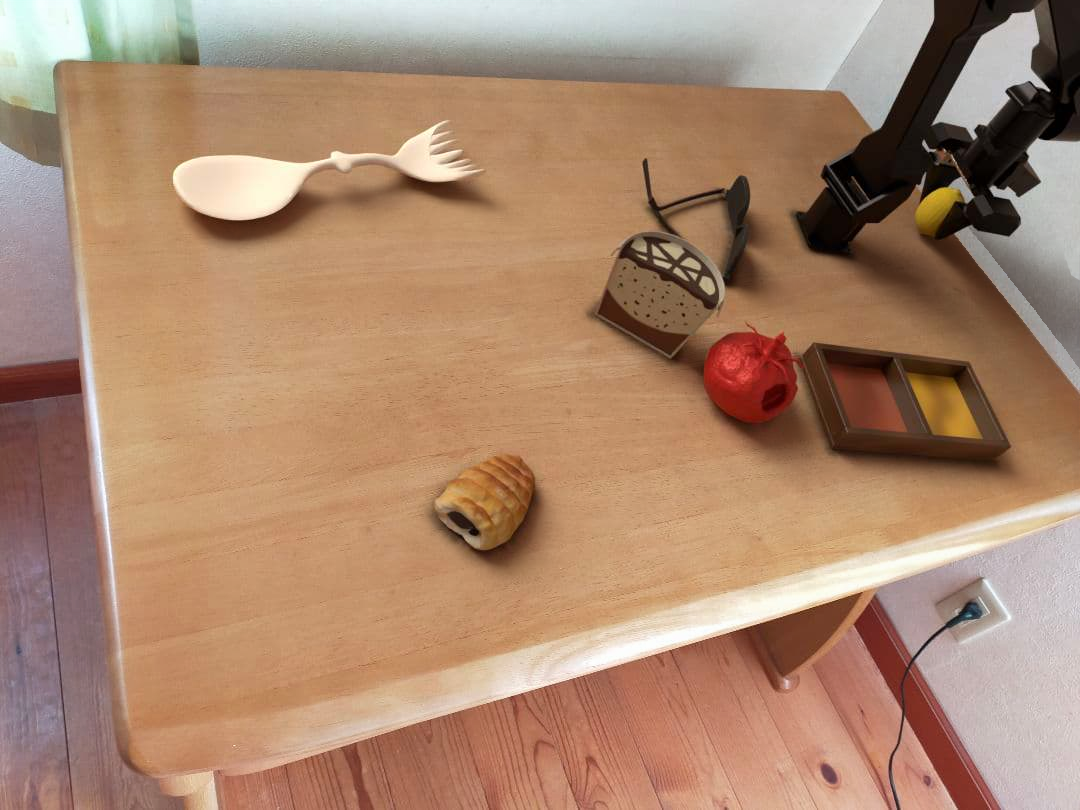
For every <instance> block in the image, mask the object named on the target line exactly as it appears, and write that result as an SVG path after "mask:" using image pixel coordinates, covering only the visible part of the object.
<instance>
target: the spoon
mask: <svg viewBox="0 0 1080 810" xmlns="http://www.w3.org/2000/svg"><path fill="white" fill-rule="evenodd" d="M452 124H453V121H452V120H449V119H448V120H443V121H440V122H439V123H438V124H435V125H433V126H432V127H429V128H428V129H427V130H425V131H423V132H421V133H419V134H417V135H414V136H413V137H411V138H409V139H408V140H407V141H405V143H404V144H403V145H402V146H401V148H400V149H399V150H398V152H397V153H395V154H394V155H386V154H382V153H374V152H366V153H352V154H348V153H344V152H341V151H337V150H335V151H332V152H331V153H330V157H328V158H326V159H321V160H317V161H311V162H291V161H284V160H278V159H277V160H276V159H272V158H271V159H270V158H265V157H259V156H253V155H240V154H239V155H237V154H236V155H228V154H227V155H207V156H200V157H196V158H193V159H188V160H186V161H184V162H182V163H180V164H178V166H177V167H176V168H175V169H174V171H173V174H172V183H173V187H174V190H175V192H176V194H177V196H178V197H179V199H180V200H181V201H182V202H183V203H184V204H185V205H186V206H188V207H189V208H190V209H192V210H194V211H195V212H198V213H200V214H202V215H205V216H208V217H212V218H216V219H219V220H228V221H248V220H254V219H259V218H264V217H267V216H269V215H272V214H274V213H276V212H278V211H280V210H282V209H283V208H285V207H286V206H287V205H288V204H289V203H290V202H291V201H292V200H293V199H294V197H296V195H297V194H298V192H300V190H301V189H302V187H303V186H304V185H305V183H306V182H307V181H308V180H309V179H310V178H312V177H313V176H314V175H316V174H318V173H321V172H324V171H328V170H334V171H338V172H340V173H342V174H350V173H352V170H353V169H354V168H357V167H362V166H380V167H384V168H387V169H391V170H393V171H396V172H398V173H401V174H403V175H405V176H408V177H410V178H413V179H416V180H419V181H423V182H429V183H442V182H443V183H445V182H452V181H453V182H454V181H466V180H473V179H478V178H481V177H482V176H484V175H485V174H486V173H487V169H485V168H482V169H476V168H477V167H478V164H477V163H476V164H475V163H474V164H473V163H472V164H469V163H470V162H471V161H472V158H464V159H461V160H457V161H454V160H455V159H457V158H459V157H460V156H461V155H462V154H464V150H463V149H456V150H450V151H447V152H444V151H446V150H448V149H450V148H451V147H453V146H454V145H456V144H457V143H458V142H459V140H458V139H451V140H448V141H446V140H447V139H449V138H451V137H452V136H454V134H455V131H453V130H450V131H446V132H445V130H447V129H448V128H449V127H451V126H452ZM443 131H444V132H443ZM443 141H444V142H443ZM442 152H443V153H442ZM452 161H453V162H452ZM467 164H468V165H467Z"/></svg>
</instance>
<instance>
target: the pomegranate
mask: <svg viewBox="0 0 1080 810" xmlns="http://www.w3.org/2000/svg"><path fill="white" fill-rule="evenodd" d="M744 323H745V325H746V326H747V327H748V328H750V329H751V330H753V331H734V332H730V333H728V334H727V333H726V334H725V335H724V336H722V337H721V338H719V340H717V341H716V342H714V343H713V344H712V345H711V346H710V348H709V349H708V352H707V354H706V358H705V360H704V367H703V383H704V385H703V386H704V389H705V391H706V394H707V395H708V397H709V398H710V399H711V400H712V401H713V402H714V403H715V404H716V406H717V407H719V409H720V410H722V412H724V413H726V414H727V415H729V416H731V417H732V418H735V419H737V420H739V421H741V422H746V423H752V424H760V423H764V422H767V421H768V420H771V419H773V418H775V417H776V416H778V415H780V414H782V413H783V412H785V411H786V410H787V409H789V407H790V406H791V405H792V403H793V401H794V400H795V398H796V395H797V392H798V390H799V386H798V385H797V381H798V374H797V372H796V370H795V367H794V362H795V363H796V364H797V365H798V367H799V368H800V369H802V368H804V366H802V365H801V363H800V361H799V358H796V357H793V356H792V352H791V350H790V349H789V347H788V345H786V344H785V343H786V341H787V336H786V335H784V334H785V332H784V331H783V332H781V333H778V335H776V336H775V338H772V337H769V336H767V335H764V334H762V333H759V332H757V329H756V328H755V327H754V326H752V325H750V324H749V323H748V322H747V320H744Z"/></svg>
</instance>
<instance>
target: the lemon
mask: <svg viewBox="0 0 1080 810" xmlns="http://www.w3.org/2000/svg"><path fill="white" fill-rule="evenodd" d="M955 201H958V202H964V203H966V199H965V197H964V195H963V194H962V191H961V189H959V188H954V187H948V188H940V189H937V190H935V191H933V192H932V193H930V194H929V195H928V196H927V197H926V198H925V199H924V200H923V201H922V202H921V204H920V205H919V204H918V206H919V207H917V208H916V210H915V214H914V215H915V216H914V221H915V225H916V228H917V229H918V233H919V234H920V235H926V236H929V237H934V236H935V234H936V232H937V230H938V228H939V226H940V225H941V223H942V222H943V220H944V218H945V217H946V215H947V214H948V212H949V210H950V209H951V207H952V205H953V204H954V202H955Z"/></svg>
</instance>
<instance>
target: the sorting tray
mask: <svg viewBox="0 0 1080 810" xmlns="http://www.w3.org/2000/svg"><path fill="white" fill-rule="evenodd" d="M798 360H799V361H800V363H801V365H802V366H804V368H801V369H802V372H803V376H804V378H805V380H806V383H807V386H808V389H809V391H810V394H811V396H812V400H813V403H814V406H815V408H816V411H817V414H818V416H819V419H820V422H821V424H822V427H823V431H824V433H825V436H826V438H827V441H828V444H829V447H830V449H832V450H847V451H859V452H871V453H881V454H882V453H883V454H893V455H894V454H895V455H908V456H909V455H910V456H921V457H934V458H946V459H947V458H948V459H958V460H959V459H960V460H970V461H971V460H973V461H984V462H993V461H995V460H996V459H997V458H999V457H1000V456H1001V455H1003V454H1004V453H1005V452H1007V451H1008V450H1010V449H1011V448H1012V445H1011V442H1010V441H1009V439H1008V437H1007V434H1006V433H1005V431H1004V428H1003V427H1002V424H1001V423H1000V421H999V418H998V417H997V414H996V413H995V410H994V409H993V407H992V404H991V402H990V401H989V398H988V397H987V395H986V392H985V390H984V389H983V386H982V385H981V383H980V380H979V379H978V376H977V375H976V372H975V370H974V368H973V367H972V364H971V362H970V361H967V360H960V359H959V360H958V359H951V358H944V357H943V358H942V357H935V356H927V355H919V354H911V353H910V354H909V353H903V352H894V351H886V350H879V349H871V348H863V347H854V346H848V345H847V346H846V345H839V344H831V343H822V342H816V341H814V342H812V343H811V344H810V345H809V347H808V348H806V350H805V351H804V352H803V354H801V356H800V357H799V358H798Z"/></svg>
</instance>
